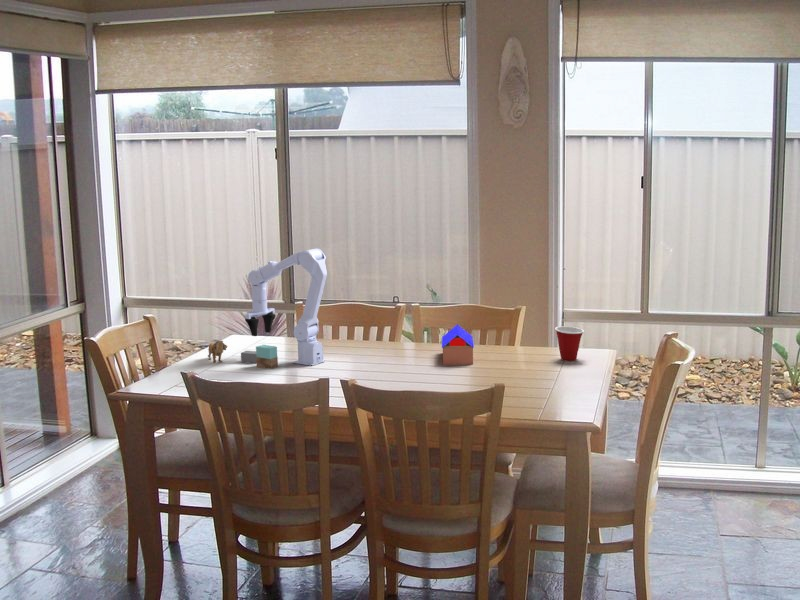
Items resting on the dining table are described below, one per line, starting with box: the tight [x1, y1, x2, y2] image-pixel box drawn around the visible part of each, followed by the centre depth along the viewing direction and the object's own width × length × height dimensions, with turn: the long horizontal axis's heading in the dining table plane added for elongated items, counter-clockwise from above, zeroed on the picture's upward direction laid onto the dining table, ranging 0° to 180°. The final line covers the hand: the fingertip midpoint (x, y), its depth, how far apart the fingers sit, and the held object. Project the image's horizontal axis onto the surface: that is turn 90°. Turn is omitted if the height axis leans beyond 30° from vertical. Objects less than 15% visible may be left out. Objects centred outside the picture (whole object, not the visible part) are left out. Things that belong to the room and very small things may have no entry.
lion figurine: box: [207, 340, 228, 364], centre depth 351 cm, size 15×5×9 cm, turn 36°
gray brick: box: [240, 350, 257, 365], centre depth 348 cm, size 7×4×4 cm, turn 68°
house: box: [441, 324, 475, 366], centre depth 345 cm, size 12×20×12 cm, turn 177°
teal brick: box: [255, 344, 278, 359], centre depth 339 cm, size 7×4×4 cm, turn 55°
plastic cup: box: [554, 325, 585, 362], centre depth 339 cm, size 11×11×12 cm
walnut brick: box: [256, 356, 279, 370], centre depth 339 cm, size 7×4×4 cm, turn 62°
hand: (261, 334), depth 352 cm, fingers open, 7 cm apart
